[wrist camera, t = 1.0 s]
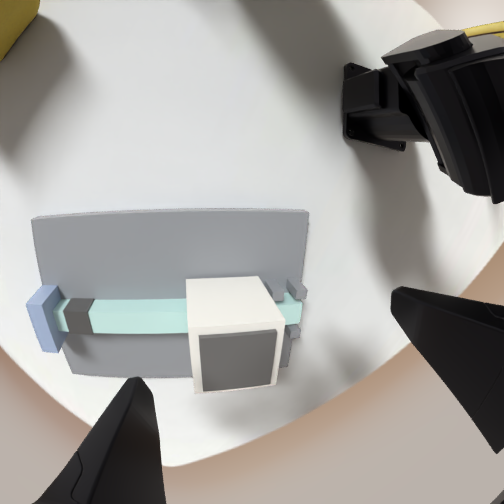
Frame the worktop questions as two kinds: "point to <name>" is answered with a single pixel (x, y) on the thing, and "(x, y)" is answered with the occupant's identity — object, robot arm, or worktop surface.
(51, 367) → the worktop surface
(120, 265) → the comb board
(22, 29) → the flower pot
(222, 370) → the sleeve
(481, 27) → the sauce bottle
